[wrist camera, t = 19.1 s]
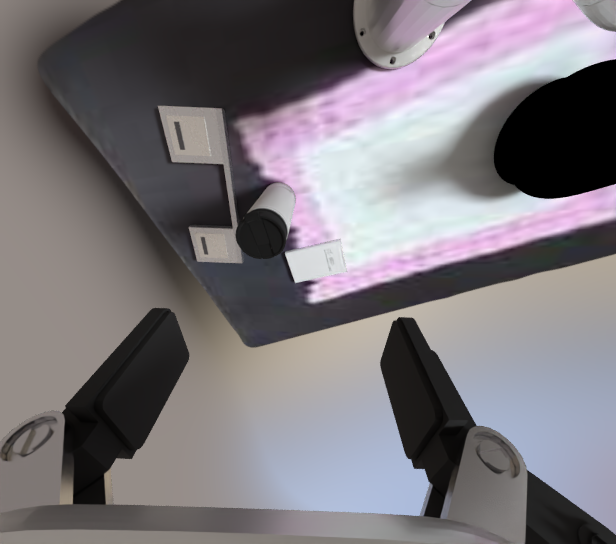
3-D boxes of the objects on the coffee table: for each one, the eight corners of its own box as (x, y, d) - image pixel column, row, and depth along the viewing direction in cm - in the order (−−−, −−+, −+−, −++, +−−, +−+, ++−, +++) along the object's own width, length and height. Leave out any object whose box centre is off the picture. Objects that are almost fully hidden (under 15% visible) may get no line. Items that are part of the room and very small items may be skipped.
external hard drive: (285, 250, 51) (340, 237, 49) (295, 279, 55) (346, 269, 54) (284, 253, 50) (341, 240, 48) (295, 283, 54) (347, 272, 52)
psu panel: (163, 106, 37) (156, 105, 36) (224, 109, 37) (221, 108, 36) (200, 258, 52) (196, 262, 50) (244, 259, 52) (242, 263, 50)
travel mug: (290, 176, 42) (276, 208, 25) (298, 211, 46) (291, 259, 29) (258, 184, 43) (224, 218, 26) (269, 217, 47) (244, 267, 30)
